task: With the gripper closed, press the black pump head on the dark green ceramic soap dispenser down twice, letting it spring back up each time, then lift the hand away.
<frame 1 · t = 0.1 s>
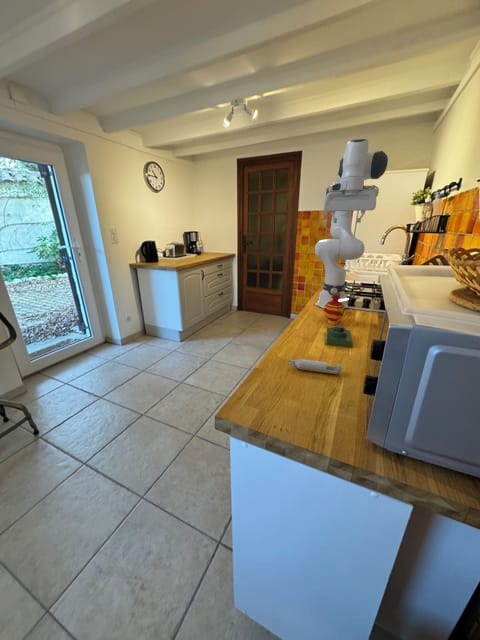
hand: (346, 222, 108), 48 cm above the table, tool pointing down, fingers open, 8 cm apart
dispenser: (337, 340, 111), on the table
pump: (339, 328, 109), point 6 cm above the table, slide at 0.1 cm
potion bottle: (332, 322, 130), on the table
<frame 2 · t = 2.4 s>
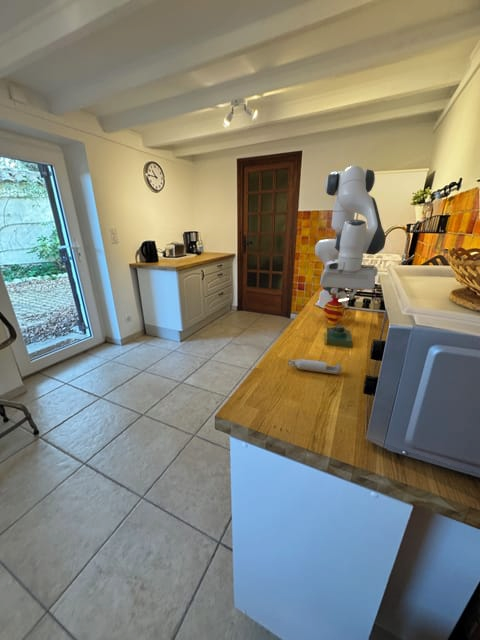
hand: (344, 298, 104), 19 cm above the table, tool pointing down, fingers open, 3 cm apart
nothing on the table moved.
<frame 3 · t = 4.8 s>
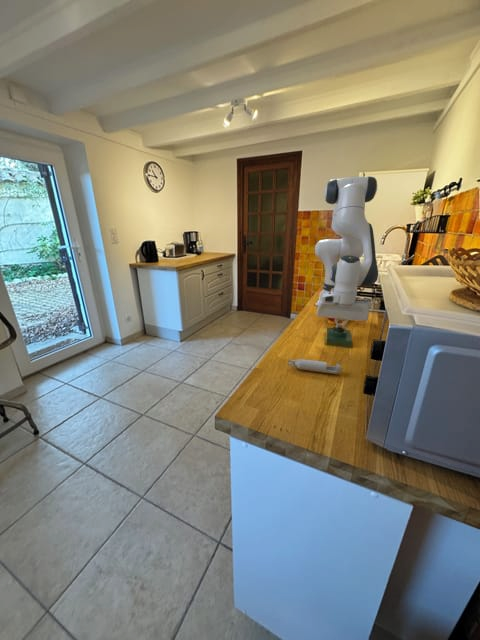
hand: (339, 327, 109), 6 cm above the table, tool pointing down, fingers closed, pressing on pump
pump: (339, 330, 109), point 5 cm above the table, slide at -0.7 cm, touching gripper
everything else where it was.
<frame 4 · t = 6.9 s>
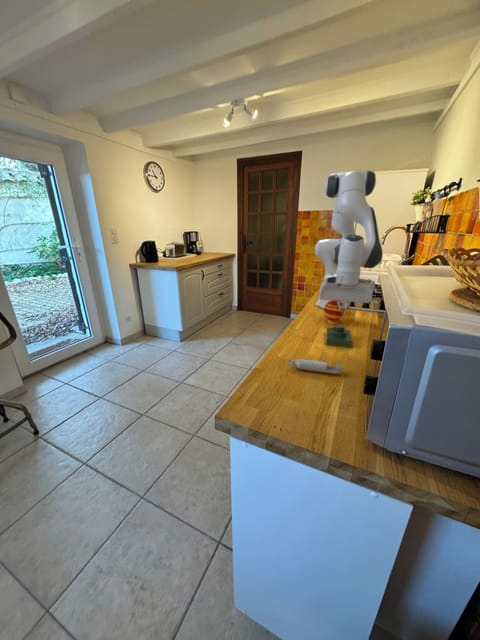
hand: (342, 310, 106), 14 cm above the table, tool pointing down, fingers closed
pump: (339, 328, 109), point 6 cm above the table, slide at 0.1 cm
everything else where it was.
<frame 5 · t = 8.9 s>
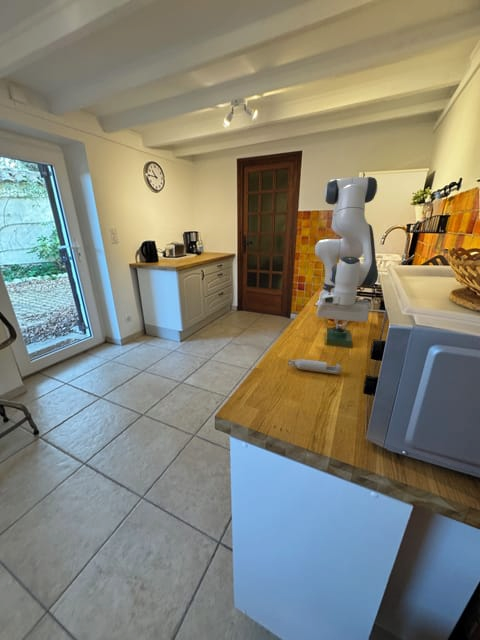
hand: (339, 328, 109), 5 cm above the table, tool pointing down, fingers closed, pressing on pump
pump: (339, 330, 109), point 4 cm above the table, slide at -1.1 cm, touching gripper
everything else where it was.
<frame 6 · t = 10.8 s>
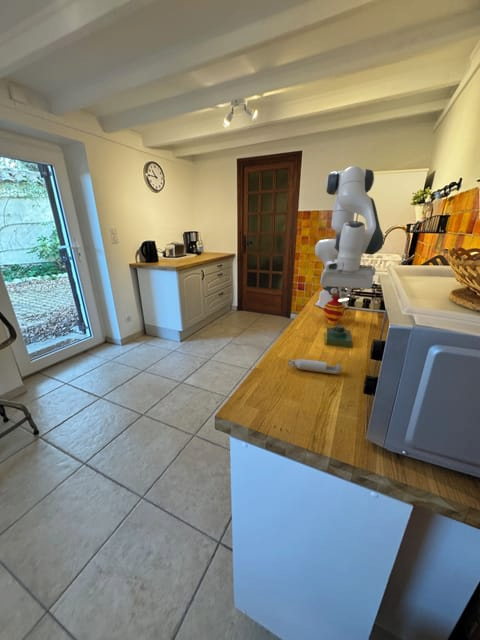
hand: (343, 297, 108), 18 cm above the table, tool pointing down, fingers closed
pump: (339, 328, 109), point 6 cm above the table, slide at 0.1 cm
everything else where it was.
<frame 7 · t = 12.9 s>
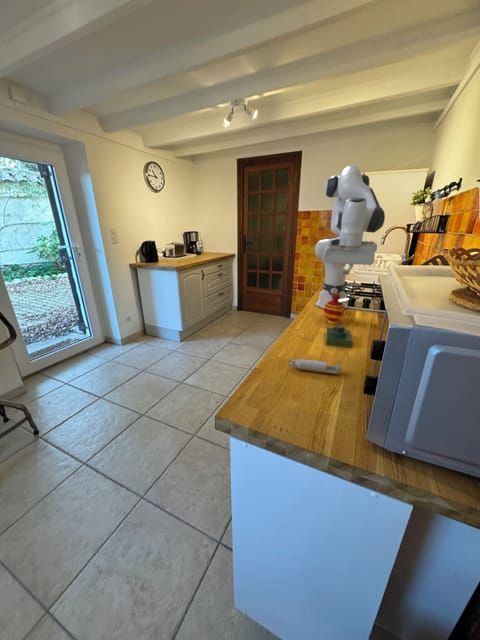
hand: (345, 274, 110), 27 cm above the table, tool pointing down, fingers closed
nothing on the table moved.
at the end: pump pushed in 1.2 cm at the most during the clip, back to where it started at the end; pump slide at 0.1 cm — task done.
